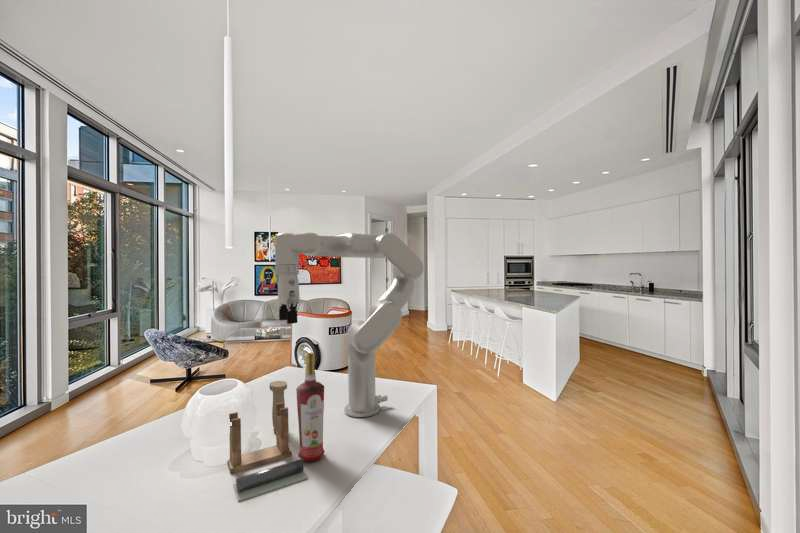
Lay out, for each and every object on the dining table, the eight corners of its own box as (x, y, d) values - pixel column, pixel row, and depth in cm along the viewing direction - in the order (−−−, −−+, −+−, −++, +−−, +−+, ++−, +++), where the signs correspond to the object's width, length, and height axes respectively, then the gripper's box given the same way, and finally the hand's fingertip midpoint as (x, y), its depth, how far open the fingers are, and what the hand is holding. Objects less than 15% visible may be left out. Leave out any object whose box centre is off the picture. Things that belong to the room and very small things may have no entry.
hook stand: (285, 446, 104) (284, 401, 104) (291, 455, 99) (290, 408, 99) (227, 463, 96) (226, 413, 96) (230, 473, 91) (229, 421, 91)
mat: (298, 465, 94) (298, 464, 94) (307, 478, 88) (307, 477, 88) (233, 485, 85) (233, 484, 85) (238, 501, 80) (238, 500, 80)
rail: (300, 467, 92) (300, 456, 92) (303, 473, 90) (303, 462, 89) (235, 487, 84) (235, 476, 84) (237, 494, 81) (237, 482, 81)
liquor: (302, 468, 92) (300, 358, 92) (294, 456, 99) (292, 353, 99) (329, 459, 96) (327, 354, 96) (320, 448, 102) (318, 349, 103)
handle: (275, 437, 110) (275, 387, 110) (267, 430, 114) (266, 383, 114) (290, 432, 113) (290, 384, 113) (282, 426, 118) (281, 379, 118)
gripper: (306, 270, 116) (307, 323, 116) (291, 270, 131) (291, 317, 131) (282, 270, 112) (283, 326, 112) (269, 270, 127) (270, 319, 127)
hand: (288, 321), depth 121 cm, fingers open, 9 cm apart
